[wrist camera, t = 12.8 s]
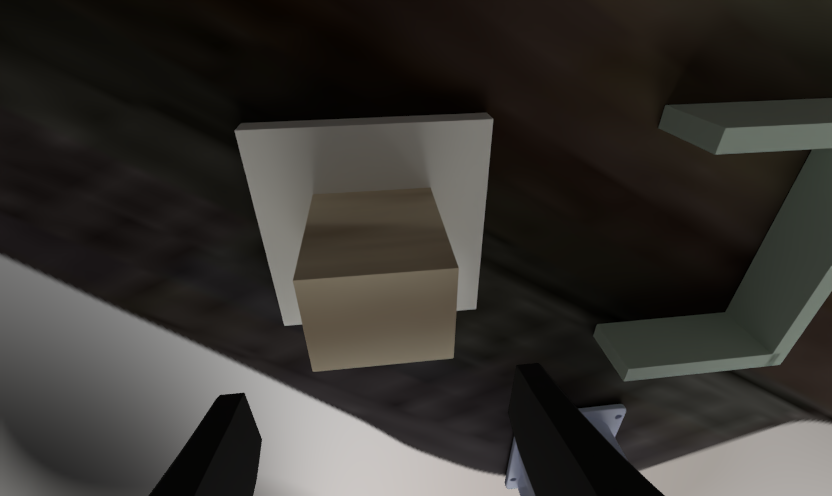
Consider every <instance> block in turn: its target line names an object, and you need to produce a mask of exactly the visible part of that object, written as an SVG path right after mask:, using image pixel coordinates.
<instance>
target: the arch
mask: <svg viewBox="0 0 832 496" xmlns="http://www.w3.org/2000/svg"><path fill="white" fill-rule="evenodd" d="M658 128H659V129H662V130H664V131H666V132H668V133H670V134H672V135H674V136H676V137H679V138H681V139H683V140H685V141H687V142H689V143H691V144H694V145H696V146H698V147H700V148H702V149H704V150H706V151H708V152H711V153H713V154H715V155H717V154H735V153H753V152H771V151H789V150H807V149H812V151H811V152H810V154H809V156H808V158H807V160H806V162H805V164H804V166H803V167H802V169H801V171H800V173H799V175H798V177H797V179H796V181H795V182H794V184H793V186H792V188H791V190H790V192H789V194H788V195H787V197H786V199H785V201H784V203H783V205H782V207H781V209H780V210H779V212H778V214H777V216H776V218H775V220H774V222H773V224H772V225H771V227H770V229H769V231H768V233H767V235H766V237H765V239H764V240H763V242H762V244H761V246H760V248H759V250H758V252H757V254H756V255H755V257H754V259H753V261H752V263H751V265H750V267H749V269H748V270H747V272H746V274H745V276H744V278H743V280H742V282H741V283H740V285H739V287H738V289H737V291H736V293H735V295H734V297H733V298H732V300H731V302H730V304H729V306H728V308H727V310H726V312H722V313H712V314H701V315H690V316H679V317H669V318H658V319H647V320H637V321H626V322H615V323H604V324H597V325H596V328H595V332H594V335H593V337H594V338H595V340H596V341H597V343H598V344H599V346H600V347H601V348H602V350H603V351H604V353H605V354H606V356H607V357H608V359H609V360H610V362H611V363H612V365H613V366H614V368H615V369H616V371H617V372H618V374H619V375H620V377H621V378H622V380H623V381H633V380H642V379H651V378H661V377H670V376H679V375H689V374H698V373H707V372H717V371H726V370H735V369H745V368H754V367H763V366H773V365H780V364H781V363H782V361H783V360H784V358H785V357H786V356H787V354H788V353H789V351H790V350H791V348H792V347H793V346H794V344H795V343H796V341H797V340H798V338H799V337H800V336H801V334H802V333H803V331H804V330H805V328H806V327H807V325H808V324H809V323H810V321H811V320H812V318H813V317H814V315H815V314H816V313H817V311H818V310H819V308H820V307H821V305H822V304H823V303H824V301H825V300H826V298H827V297H828V295H829V294H830V292H831V291H832V98H819V99H796V100H772V101H749V102H725V103H702V104H679V105H665V108H664V111H663V114H662V117H661V120H660V124H659V127H658Z"/></svg>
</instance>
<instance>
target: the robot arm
mask: <svg viewBox="0 0 832 496" xmlns="http://www.w3.org/2000/svg"><path fill="white" fill-rule="evenodd" d="M625 413H626V408H625V407H624V405H622V404H613V405H605V406H596V407H587V408H577V407H576V406H575V405H574V404H573V402H572V401H571V400H570V399H569V398H568V397H567V396H566V394H565V393H564V392H563V391H562V390H561V389H560V387H559V386H558V385H557V384H556V383H555V382H554V380H553V379H552V378H551V377H550V376H549V374H548V373H547V372H546V371H545V370H544V368H543V367H542V366H541V365H540V364H539V363H534V364H524V365H516V371H515V376H514V382H513V388H512V393H511V399H510V404H509V410H508V414H509V418H510V421H511V425H512V429H513V433H514V439H513V444H512V449H511V454H510V459H509V464H508V469H507V474H506V479H505V486H506V488H507V489H515V488H518V490H519V493H520V495H521V496H664V495H663V494H662V493H661V492H660V491H659V490H658V489H657V488H655V487H654V486H653V485H652V484H651V483H650V482H649V481H648V480H647V479H646V478H645V477H644V476H643V475H642V474H641V473H640V472H639V471H637V470H636V469H635V468H634V467H633V466H632V465H631V464H630V463H629V462H628V460H627V458H626V457H625V455H624V453H623V451H622V450H621V448H620V446H619V444H618V443H617V441H616V439H615V436H616V433H617V431H618V429H619V427H620V424H621V422H622V420H623V417H624V415H625ZM261 442H262V439H261V436H260V433H259V431H258V428H257V426H256V423H255V420H254V417H253V415H252V412H251V409H250V406H249V404H248V401H247V399H246V396H245V393H236V394H226V395H220V396H219V397H218V398H217V399H216V400H215V402H214V403H213V405H212V406H211V408H210V409H209V411H208V412H207V414H206V415H205V417H204V418H203V420H202V421H201V423H200V424H199V426H198V427H197V429H196V430H195V431H194V433H193V435H192V436H191V438H190V439H189V440H188V442H187V443H186V445H185V446H184V448H183V449H182V450H181V452H180V453H179V455H178V456H177V457H176V459H175V460H174V462H173V463H172V464H171V466H170V467H169V469H168V470H167V471H166V473H165V474H164V475H163V477H162V478H161V480H160V481H159V482H158V484H157V485H156V487H155V488H154V489H153V490H152V492H151V493H150V494H149V496H253V493H254V489H255V484H256V479H257V473H258V466H259V458H260V450H261Z"/></svg>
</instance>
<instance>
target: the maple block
mask: <svg viewBox="0 0 832 496" xmlns="http://www.w3.org/2000/svg"><path fill="white" fill-rule="evenodd" d="M458 274H459V267H458V264H457V261H456V259H455V256H454V253H453V250H452V247H451V244H450V241H449V239H448V236H447V233H446V230H445V227H444V224H443V222H442V219H441V216H440V213H439V210H438V207H437V204H436V202H435V199H434V196H433V193H432V190H431V188H416V189H398V190H381V191H363V192H346V193H328V194H313V196H312V200H311V204H310V209H309V213H308V217H307V222H306V226H305V230H304V235H303V239H302V243H301V247H300V252H299V256H298V260H297V265H296V269H295V273H294V278H293V284H294V289H295V293H296V298H297V302H298V307H299V311H300V316H301V320H302V325H303V329H304V334H305V339H306V343H307V348H308V352H309V357H310V361H311V366H312V370H313V372H316V371H326V370H337V369H347V368H357V367H368V366H378V365H388V364H399V363H409V362H419V361H430V360H440V359H450V358H454V342H455V325H456V308H457V291H458Z"/></svg>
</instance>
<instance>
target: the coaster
mask: <svg viewBox="0 0 832 496" xmlns="http://www.w3.org/2000/svg"><path fill="white" fill-rule="evenodd" d="M492 128H493V118H492V117H491V116H490V115H489V114H488V113H468V114H444V115H421V116H397V117H374V118H351V119H327V120H304V121H280V122H257V123H241V124H240V125H239V126H238V127H237V128H236V129H235V134H236V138H237V142H238V146H239V150H240V154H241V158H242V162H243V166H244V170H245V173H246V177H247V181H248V185H249V189H250V193H251V197H252V201H253V205H254V209H255V213H256V217H257V220H258V224H259V228H260V232H261V236H262V240H263V244H264V248H265V252H266V256H267V260H268V263H269V267H270V271H271V275H272V279H273V283H274V287H275V291H276V295H277V299H278V303H279V307H280V310H281V314H282V318H283V322H284V326H287V325H299V324H302V320H301V316H300V311H299V307H298V302H297V298H296V293H295V289H294V284H293V278H294V273H295V269H296V265H297V260H298V256H299V252H300V247H301V243H302V239H303V235H304V230H305V226H306V222H307V217H308V213H309V209H310V204H311V200H312V196H313V194H328V193H346V192H363V191H381V190H398V189H416V188H431V190H432V193H433V196H434V199H435V202H436V204H437V207H438V210H439V213H440V216H441V219H442V222H443V224H444V227H445V230H446V233H447V236H448V239H449V241H450V244H451V247H452V250H453V253H454V256H455V259H456V261H457V264H458V267H459V274H458V291H457V308H456V311H459V310H471V309H476V304H477V293H478V282H479V271H480V260H481V249H482V238H483V227H484V216H485V205H486V194H487V183H488V172H489V161H490V150H491V139H492Z"/></svg>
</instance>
